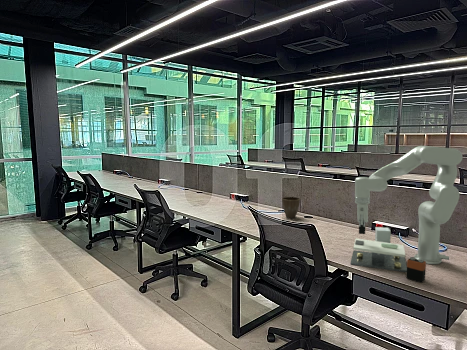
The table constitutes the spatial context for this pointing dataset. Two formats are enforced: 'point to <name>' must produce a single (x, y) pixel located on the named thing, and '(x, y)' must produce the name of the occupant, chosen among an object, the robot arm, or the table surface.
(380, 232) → the supplement box
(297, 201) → the plant pot
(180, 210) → the table surface
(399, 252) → the level plate
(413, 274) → the battery
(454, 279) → the table surface
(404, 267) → the tribrach base
